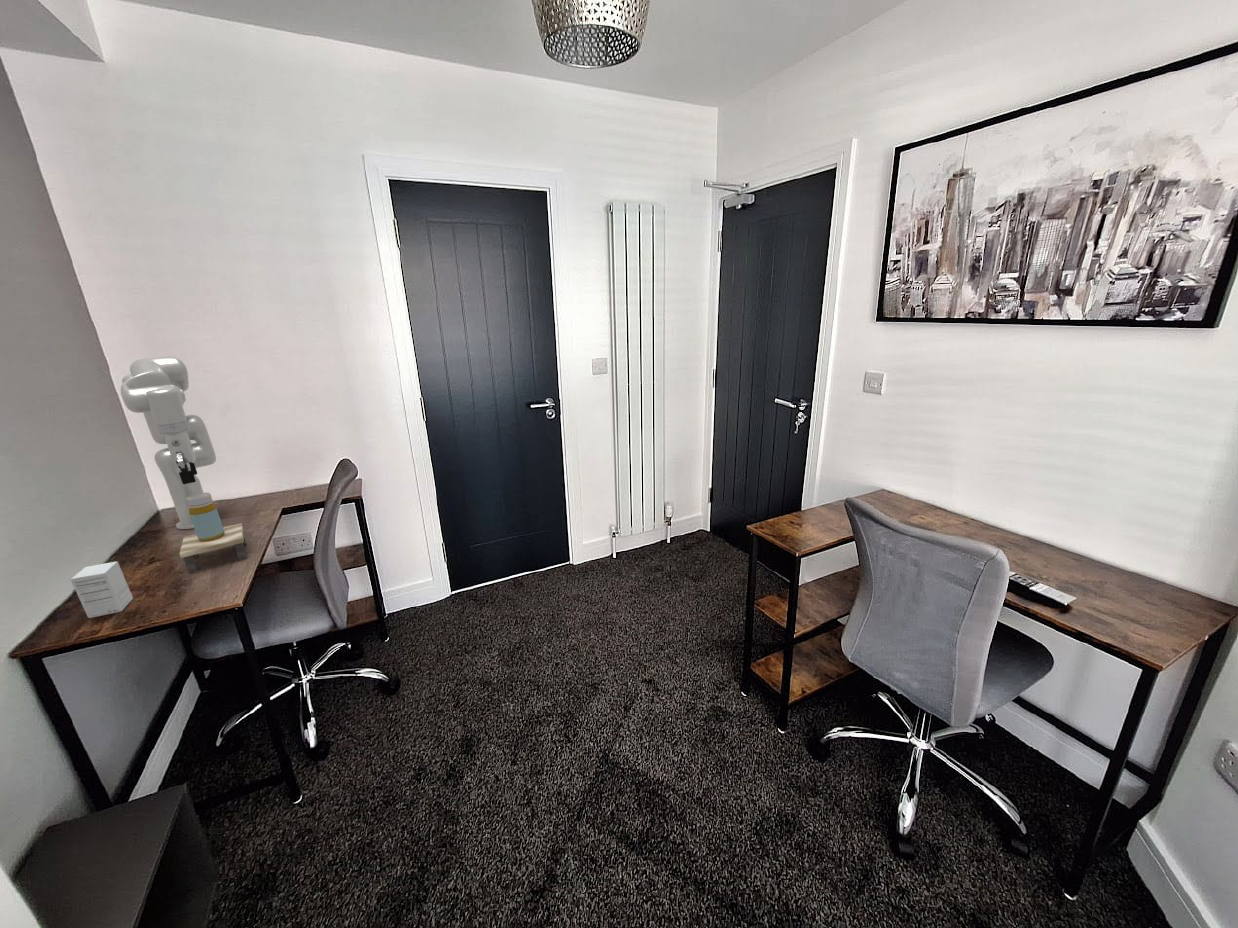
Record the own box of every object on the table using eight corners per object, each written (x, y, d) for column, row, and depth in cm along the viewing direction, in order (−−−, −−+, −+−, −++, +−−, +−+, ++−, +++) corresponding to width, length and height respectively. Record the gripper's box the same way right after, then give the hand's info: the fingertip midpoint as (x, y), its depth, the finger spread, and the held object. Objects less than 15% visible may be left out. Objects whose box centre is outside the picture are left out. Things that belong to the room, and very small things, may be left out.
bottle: (193, 541, 161) (178, 499, 156) (213, 532, 167) (200, 491, 162) (210, 542, 159) (195, 500, 155) (230, 533, 166) (217, 492, 161)
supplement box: (101, 605, 140) (84, 566, 136) (134, 598, 143) (118, 560, 139) (86, 619, 133) (68, 579, 130) (121, 611, 136) (105, 572, 132)
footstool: (190, 556, 167) (183, 536, 165) (247, 541, 176) (241, 523, 174) (187, 574, 155) (179, 553, 152) (248, 558, 164) (242, 538, 161)
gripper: (186, 431, 148) (204, 483, 153) (190, 421, 161) (206, 470, 166) (154, 435, 144) (172, 489, 149) (160, 425, 157) (177, 475, 162)
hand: (190, 479), depth 158 cm, fingers open, 9 cm apart
